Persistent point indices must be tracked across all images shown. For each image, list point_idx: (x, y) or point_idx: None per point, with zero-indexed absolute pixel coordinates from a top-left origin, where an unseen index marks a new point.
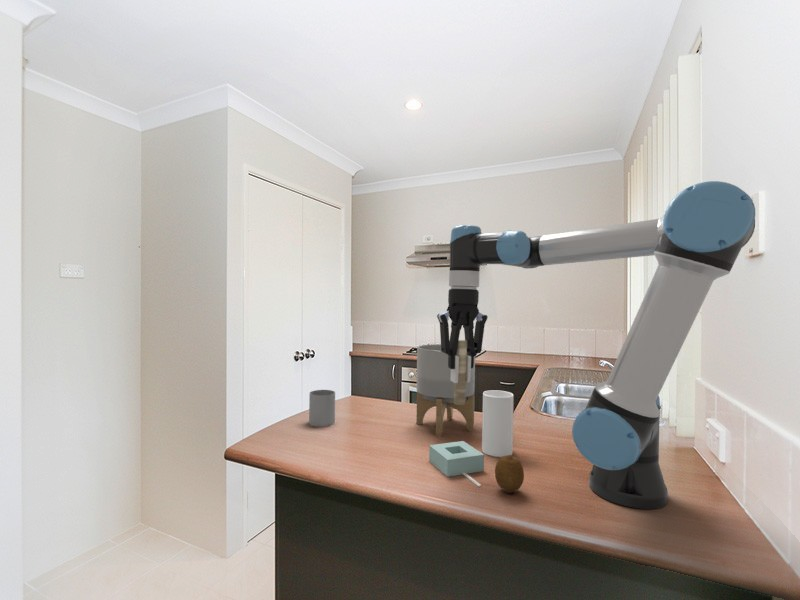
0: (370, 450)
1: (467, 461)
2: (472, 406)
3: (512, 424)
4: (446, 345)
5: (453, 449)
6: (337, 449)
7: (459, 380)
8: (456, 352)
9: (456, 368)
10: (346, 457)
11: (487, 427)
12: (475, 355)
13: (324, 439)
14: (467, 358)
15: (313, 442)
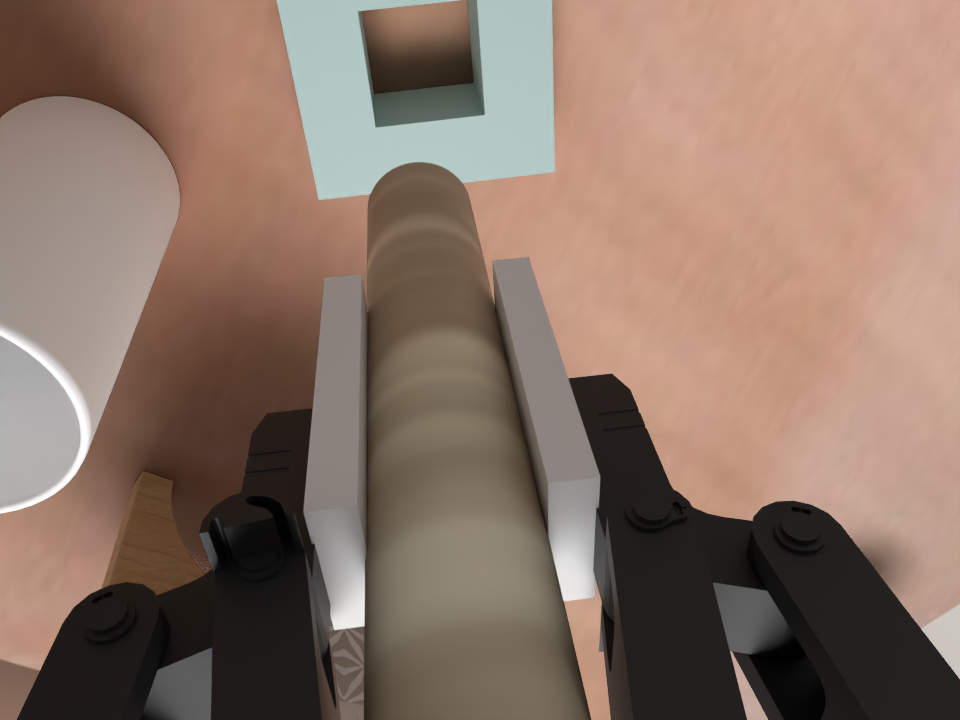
0: (759, 311)
1: None
2: (117, 580)
3: None
4: (887, 629)
5: (416, 116)
6: (888, 344)
7: (470, 286)
8: (612, 541)
9: (552, 359)
10: (898, 254)
11: (128, 231)
12: (228, 503)
13: (883, 449)
14: (361, 502)
15: (940, 426)
